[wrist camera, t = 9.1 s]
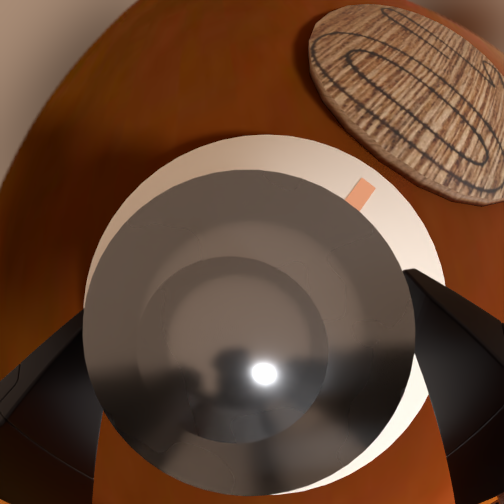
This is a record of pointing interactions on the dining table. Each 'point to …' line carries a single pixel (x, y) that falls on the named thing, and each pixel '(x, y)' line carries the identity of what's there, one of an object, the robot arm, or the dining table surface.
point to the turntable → (338, 182)
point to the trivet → (414, 98)
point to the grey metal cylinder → (248, 332)
